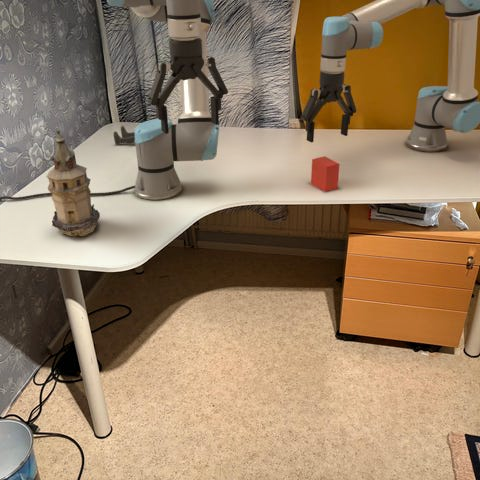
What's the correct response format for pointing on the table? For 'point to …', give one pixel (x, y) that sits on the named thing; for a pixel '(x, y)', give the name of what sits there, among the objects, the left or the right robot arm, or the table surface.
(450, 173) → the table surface
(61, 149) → the miniature building
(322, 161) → the block
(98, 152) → the table surface
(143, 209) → the table surface
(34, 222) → the table surface
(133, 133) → the toy
